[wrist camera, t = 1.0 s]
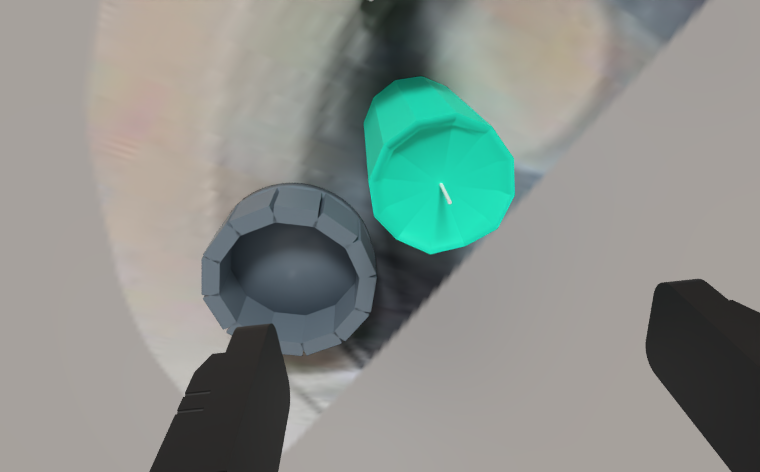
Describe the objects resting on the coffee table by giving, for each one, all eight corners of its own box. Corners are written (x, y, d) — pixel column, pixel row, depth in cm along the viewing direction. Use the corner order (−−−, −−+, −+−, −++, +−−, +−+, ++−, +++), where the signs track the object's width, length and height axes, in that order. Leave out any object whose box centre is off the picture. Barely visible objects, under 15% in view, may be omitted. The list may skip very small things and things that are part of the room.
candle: (346, 101, 28) (342, 162, 17) (444, 58, 27) (504, 92, 16) (386, 191, 30) (404, 293, 20) (477, 153, 30) (547, 239, 19)
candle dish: (336, 159, 29) (333, 180, 26) (393, 289, 34) (398, 323, 30) (189, 216, 31) (167, 245, 27) (263, 336, 35) (252, 374, 31)
